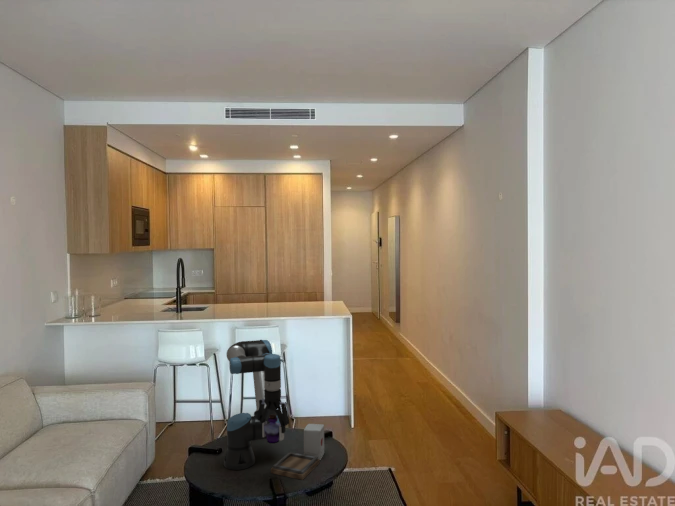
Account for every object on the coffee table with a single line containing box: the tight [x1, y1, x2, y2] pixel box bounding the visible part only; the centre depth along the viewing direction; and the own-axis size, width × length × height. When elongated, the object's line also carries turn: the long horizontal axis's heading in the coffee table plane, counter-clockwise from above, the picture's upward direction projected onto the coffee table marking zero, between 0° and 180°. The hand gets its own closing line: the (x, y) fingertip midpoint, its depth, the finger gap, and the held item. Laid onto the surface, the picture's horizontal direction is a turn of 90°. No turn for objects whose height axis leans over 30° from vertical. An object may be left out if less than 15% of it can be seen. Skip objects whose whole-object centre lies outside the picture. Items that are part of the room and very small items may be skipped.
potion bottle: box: [264, 414, 281, 444], centre depth 213 cm, size 9×9×12 cm
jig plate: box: [270, 451, 321, 481], centre depth 224 cm, size 17×18×3 cm
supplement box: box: [303, 423, 325, 461], centre depth 237 cm, size 9×9×15 cm
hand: (273, 437), depth 213 cm, fingers closed on potion bottle, 9 cm apart
